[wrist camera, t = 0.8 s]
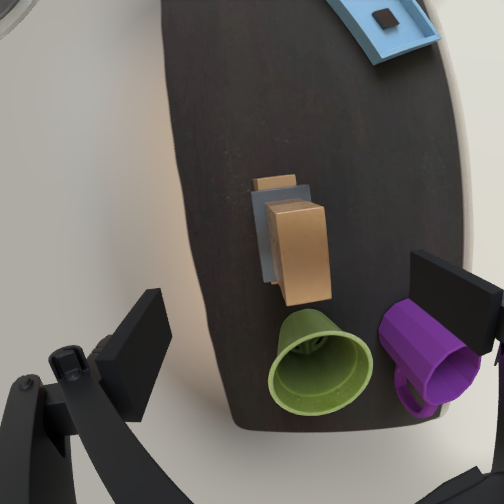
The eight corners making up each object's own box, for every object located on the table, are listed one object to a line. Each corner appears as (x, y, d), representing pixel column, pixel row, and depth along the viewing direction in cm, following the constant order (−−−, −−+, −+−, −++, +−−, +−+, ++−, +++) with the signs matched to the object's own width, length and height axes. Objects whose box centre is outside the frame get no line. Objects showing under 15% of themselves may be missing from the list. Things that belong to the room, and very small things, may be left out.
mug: (431, 293, 42) (490, 336, 27) (413, 376, 46) (455, 429, 31) (380, 299, 42) (433, 351, 27) (367, 385, 45) (401, 448, 31)
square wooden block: (252, 179, 37) (256, 179, 28) (280, 175, 37) (295, 174, 28) (263, 258, 40) (271, 284, 30) (291, 254, 40) (307, 279, 30)
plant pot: (266, 289, 41) (275, 329, 30) (351, 294, 41) (384, 331, 30) (257, 365, 43) (262, 416, 32) (335, 366, 44) (357, 414, 33)
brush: (250, 191, 28) (255, 198, 18) (304, 184, 28) (338, 188, 18) (262, 276, 30) (273, 323, 20) (313, 268, 30) (346, 309, 20)
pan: (303, -26, 30) (306, -37, 27) (366, -40, 29) (373, -49, 26) (373, 65, 34) (382, 58, 31) (431, 44, 33) (441, 38, 30)
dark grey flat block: (370, 14, 32) (373, 11, 31) (385, 10, 31) (388, 7, 30) (382, 30, 32) (385, 27, 31) (397, 26, 32) (400, 23, 31)
